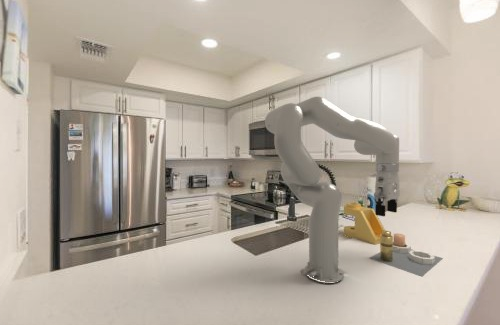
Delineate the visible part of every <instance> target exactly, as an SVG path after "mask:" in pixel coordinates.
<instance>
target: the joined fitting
mask: <svg viewBox="0 0 500 325" xmlns="http://www.w3.org/2000/svg"><path fill="white" fill-rule="evenodd" d="M411 249H412V246H411V245H409V244H408V243H406V235H405V234H402V233H393V251H395V252H398V253H409V252H410V251H411Z"/></svg>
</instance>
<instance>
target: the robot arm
mask: <svg viewBox="0 0 500 325" xmlns="http://www.w3.org/2000/svg"><path fill="white" fill-rule="evenodd" d="M312 124H313V125H315V126H317V127H318V128H320V129H322V130H324V131H325V132H327V133H329V134H330V135H332V136H333V137H336V138H338V139H342V140H349V141H354V144H353V147H354V151H356V152H357V153H358V154H360V155H364V156H375V173H376V174H375V175H376V176H375V187H374V190H375V191H374V193H373V196H374V204H375V209H374V211H375V214H376V215H377V216H378V217H386V212H391V213H397V212H398V198H399V197H400V177H399V173H400V138H399V136H398V135H394V133H392V132H391V131H390V130H388V129H387V128H385V127H384V126H382V125H381V124H378V123H376V122H373V121H370V120H367V119H364V118H361V117H360V118H359V117H356V116H353V115H351V114H349V113H347V112H345V111H344V110H342V109H341V108H339V107H338V106H336V105H335V104H333V103H332V102H330V101H329V100H327V99H326V98H324V97H322V96H313V97H310V98H308V99H306V100H303V101H300V102H298V103H292V102H291V103H286V104H283V105H281V106H278V107H277V108H275V109H272V110H271V111H269V112H268V113H267V114H266V115H265V119H264V125H265V128H266V130H267V131H268V132H269V133H271V134H273V135H274V137H273V138H274V139H273V141H274V142H273V143H274V148H275V151H276V154H277V156H278V157H279V159H280V160H281V162H282V163H281V166H280V175H281V177H282V180H283V181H284V183H285V184H286V185H287V187H288V188H289V190H290V191H291V193H293V195H294V196H295V197H296V198H297V200H298V201H300V203H302V204H304V205H306V206H308V207H311V208H312V209H311V212H310V215H309V220H308V258H309V259H308V262H307V265H305V266H304V268H302V269H300V272H299V274H300V275H301V276H303V277H305V276H306V275H309V276H310V277H312V278H314V279H317V280H320V281H325V282H337V281H340V280H341V279H342V280H343V279H344V272H343V270H342V269H341V268H340V267H339V220H340V217H339V216H340V209H341V204H342V202H343V201H342V200H343V199H342V198H343V197H342V193H341V190H340V189H339V187H338V186H336V185H335V184H333V183H331V182H327V181H323V180H321V178H322V177H321V176H322V174H321V173H322V172H321V169H320V166H319V165H318V163H317V162H316V161H315V160H314V157H312V155H311V154H310V152H309V150H307V148H306V147H305V145H304V143H303V141H302V137H301V130H302V128H303V127H304V126H305V127H306V126H308V125H312ZM386 201H387V202H386ZM385 203H387V204H386V205H385ZM386 206H387V207H386ZM386 209H387V211H386ZM313 276H314V277H313ZM342 280H341V281H342ZM341 281H340V282H341Z"/></svg>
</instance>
